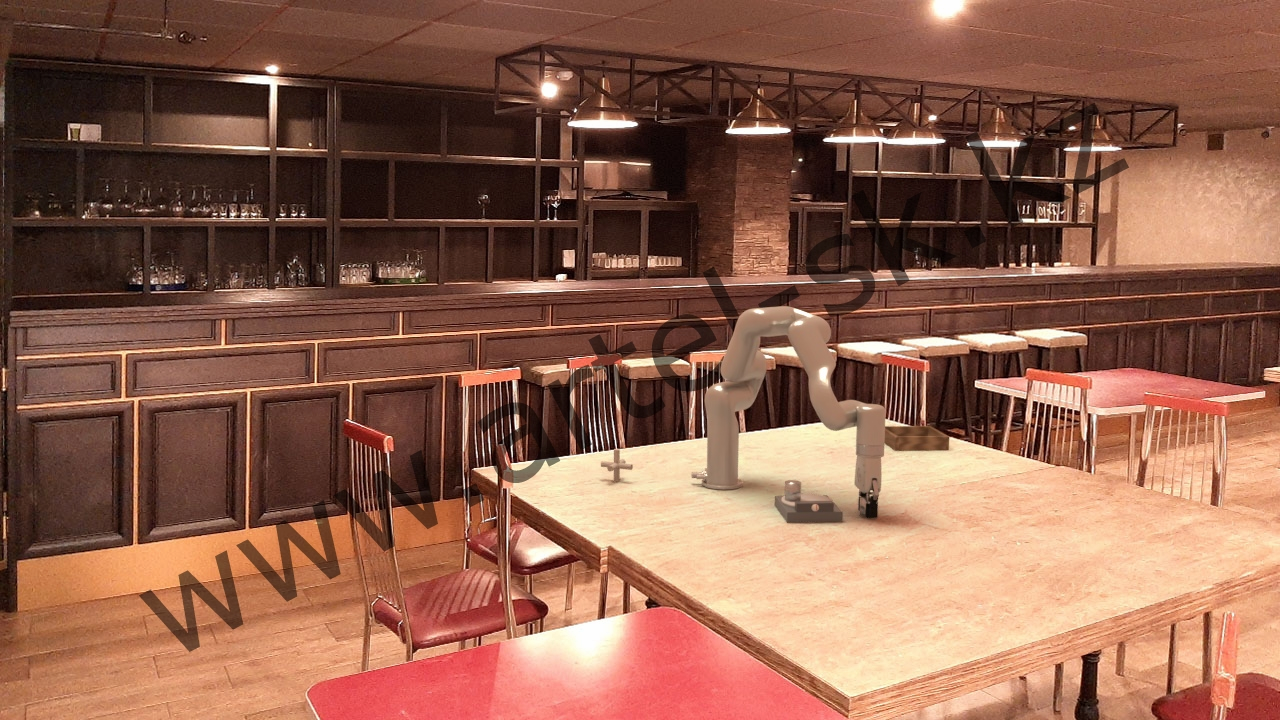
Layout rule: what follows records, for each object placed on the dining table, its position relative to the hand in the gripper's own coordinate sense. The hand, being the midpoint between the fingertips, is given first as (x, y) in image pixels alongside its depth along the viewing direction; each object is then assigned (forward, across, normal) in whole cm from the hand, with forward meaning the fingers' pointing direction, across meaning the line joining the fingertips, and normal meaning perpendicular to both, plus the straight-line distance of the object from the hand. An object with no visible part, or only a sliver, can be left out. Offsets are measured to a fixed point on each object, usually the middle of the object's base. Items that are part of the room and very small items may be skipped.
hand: (867, 513), depth 282 cm
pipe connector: (+1, -41, -67) cm, 79 cm away
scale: (+1, -3, -16) cm, 16 cm away
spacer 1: (-3, -4, -20) cm, 21 cm away
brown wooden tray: (+1, -90, +43) cm, 100 cm away
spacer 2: (+1, 0, 0) cm, 1 cm away
